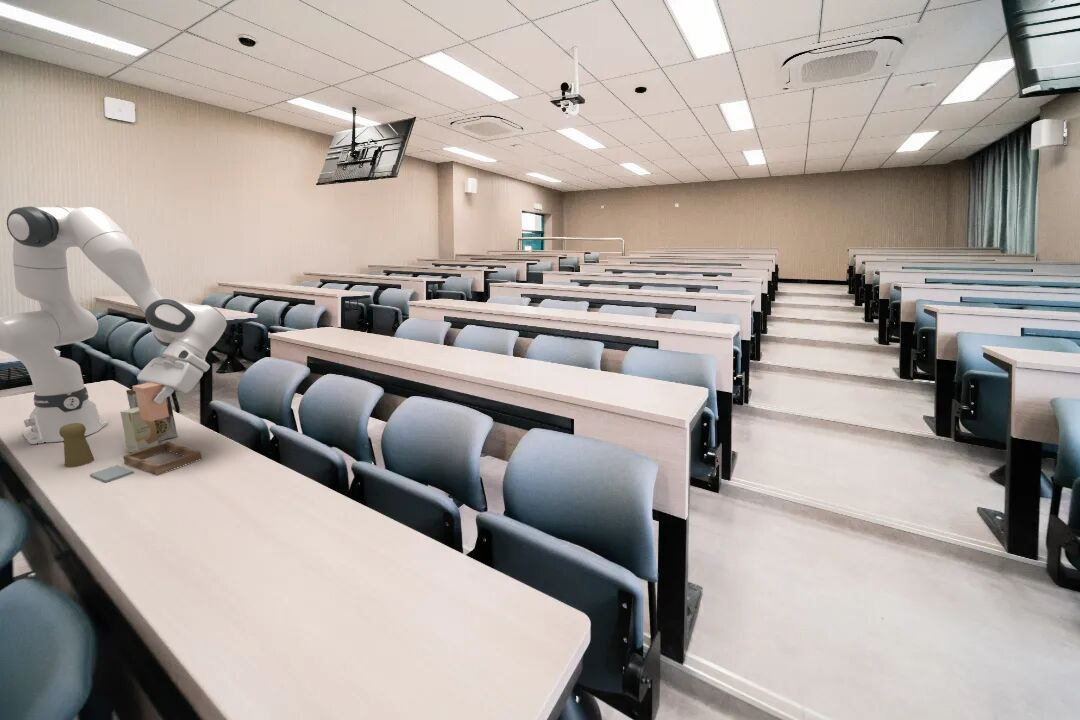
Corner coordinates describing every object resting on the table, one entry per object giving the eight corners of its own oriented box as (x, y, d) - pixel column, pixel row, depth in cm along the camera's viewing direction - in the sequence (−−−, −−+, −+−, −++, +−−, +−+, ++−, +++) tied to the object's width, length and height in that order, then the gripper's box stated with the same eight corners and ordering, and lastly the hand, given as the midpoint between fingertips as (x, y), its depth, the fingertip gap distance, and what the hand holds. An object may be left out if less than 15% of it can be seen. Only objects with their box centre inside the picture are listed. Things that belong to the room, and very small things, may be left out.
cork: (63, 462, 136) (54, 424, 133) (93, 455, 140) (84, 419, 138) (65, 469, 132) (56, 430, 129) (95, 462, 136) (87, 424, 134)
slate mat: (90, 476, 128) (89, 474, 128) (117, 467, 133) (117, 465, 133) (106, 482, 124) (105, 480, 124) (133, 473, 129) (133, 470, 129)
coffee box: (171, 431, 158) (162, 383, 154) (178, 436, 154) (169, 386, 151) (135, 440, 151) (125, 389, 148) (141, 445, 147) (131, 393, 144)
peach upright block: (138, 419, 132) (132, 386, 130) (160, 413, 137) (154, 381, 135) (149, 422, 130) (143, 388, 128) (171, 416, 135) (165, 383, 133)
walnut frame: (124, 463, 135) (123, 456, 135) (168, 449, 145) (167, 441, 144) (157, 475, 128) (155, 467, 128) (201, 459, 138) (200, 451, 137)
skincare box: (139, 453, 141) (130, 413, 139) (127, 452, 142) (118, 412, 140) (160, 445, 148) (153, 406, 145) (148, 443, 149) (141, 404, 146)
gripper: (151, 347, 140) (117, 390, 134) (194, 355, 131) (159, 400, 125) (171, 360, 145) (139, 401, 139) (214, 367, 136) (181, 412, 130)
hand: (149, 401), depth 132 cm, fingers closed on peach upright block, 5 cm apart
